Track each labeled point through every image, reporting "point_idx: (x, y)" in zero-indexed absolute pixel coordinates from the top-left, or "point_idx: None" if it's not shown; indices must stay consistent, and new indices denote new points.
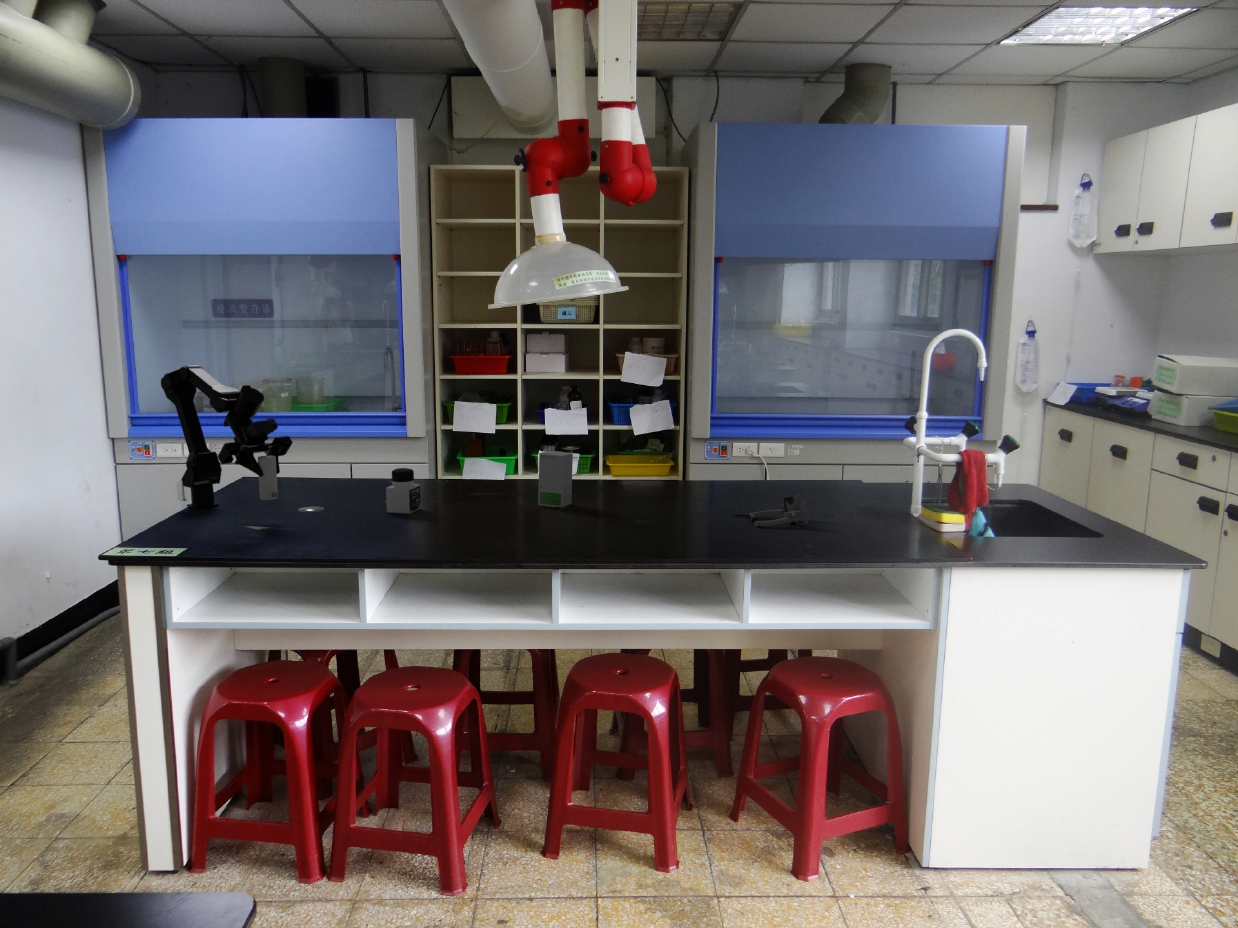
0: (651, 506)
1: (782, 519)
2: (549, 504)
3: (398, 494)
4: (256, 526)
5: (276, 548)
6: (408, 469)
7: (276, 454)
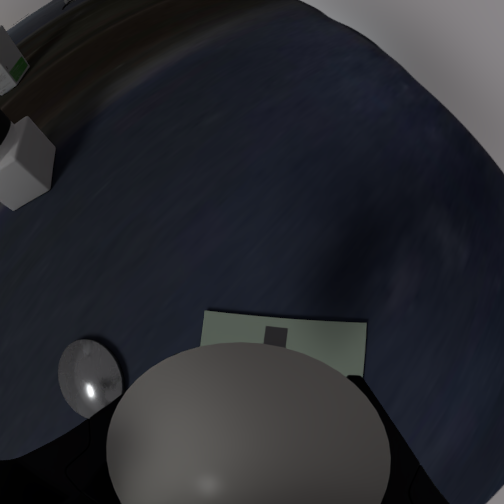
0: (29, 43)
1: None
2: (22, 73)
3: (29, 141)
4: (344, 362)
5: (424, 139)
6: None
7: (43, 466)
